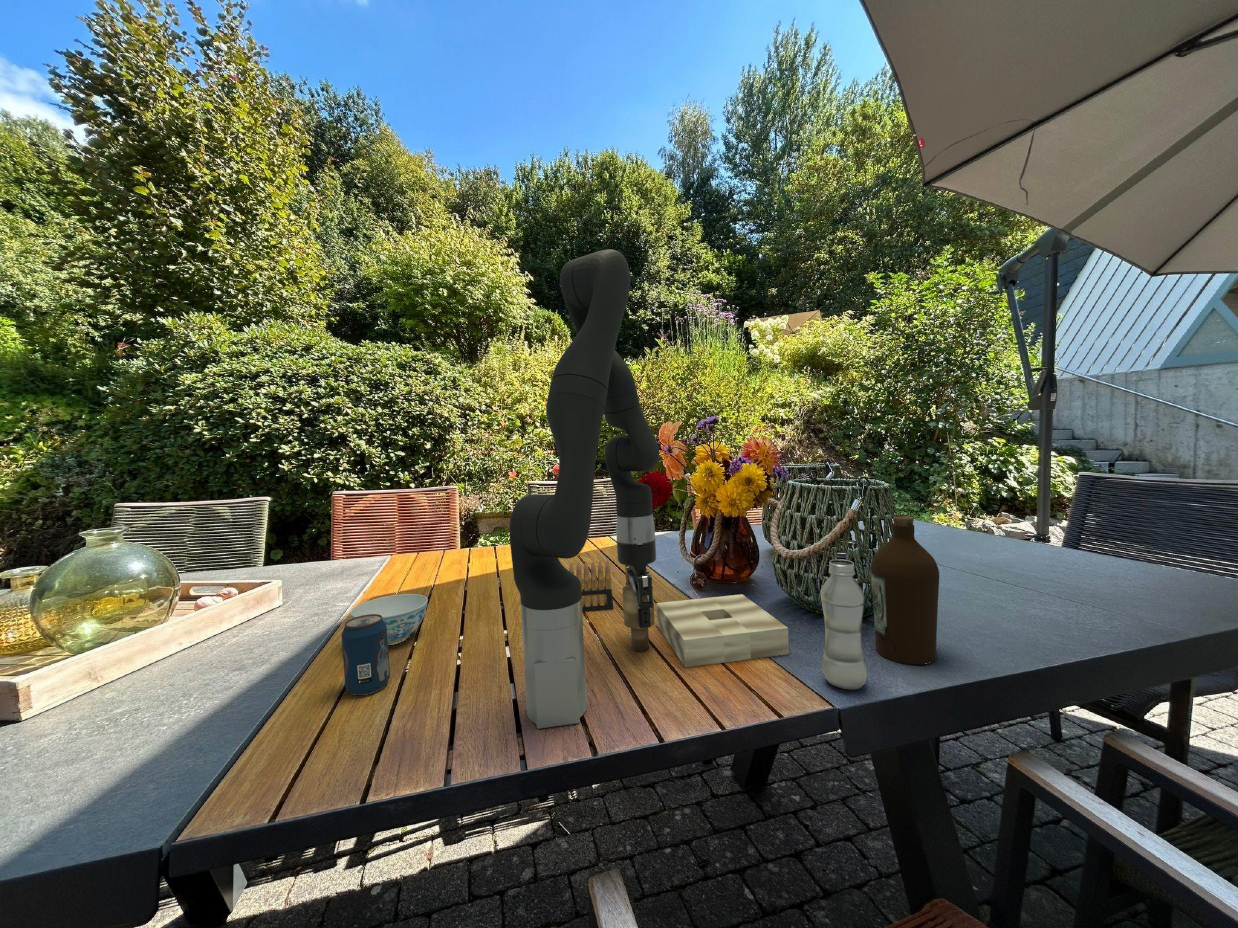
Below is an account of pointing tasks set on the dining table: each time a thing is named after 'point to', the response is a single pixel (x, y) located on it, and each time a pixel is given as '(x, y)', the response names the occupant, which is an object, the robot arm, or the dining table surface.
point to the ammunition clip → (595, 587)
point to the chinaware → (396, 613)
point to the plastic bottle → (843, 627)
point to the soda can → (365, 654)
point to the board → (720, 630)
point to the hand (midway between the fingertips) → (639, 618)
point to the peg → (635, 620)
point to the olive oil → (905, 597)
